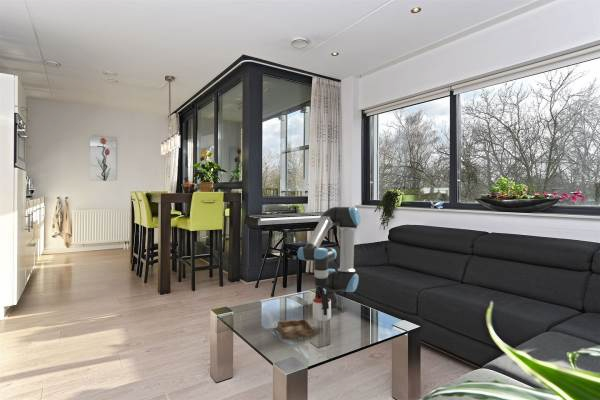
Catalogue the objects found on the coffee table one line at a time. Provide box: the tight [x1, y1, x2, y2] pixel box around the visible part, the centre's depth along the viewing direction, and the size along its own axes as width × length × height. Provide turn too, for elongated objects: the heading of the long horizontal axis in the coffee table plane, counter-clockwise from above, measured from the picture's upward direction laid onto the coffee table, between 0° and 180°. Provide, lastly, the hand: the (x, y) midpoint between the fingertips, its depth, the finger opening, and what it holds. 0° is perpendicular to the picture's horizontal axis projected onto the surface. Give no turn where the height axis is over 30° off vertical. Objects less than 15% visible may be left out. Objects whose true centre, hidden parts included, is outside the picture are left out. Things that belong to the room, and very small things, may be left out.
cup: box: [312, 297, 332, 322], centre depth 194 cm, size 10×10×10 cm
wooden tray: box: [277, 318, 314, 340], centre depth 190 cm, size 16×16×3 cm
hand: (321, 316), depth 194 cm, fingers closed on cup, 10 cm apart
